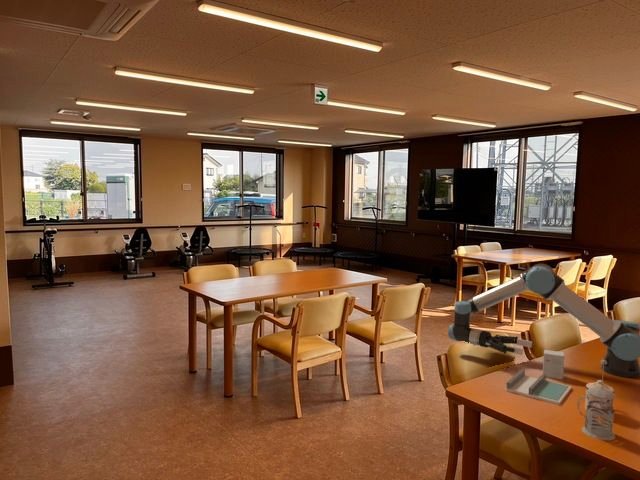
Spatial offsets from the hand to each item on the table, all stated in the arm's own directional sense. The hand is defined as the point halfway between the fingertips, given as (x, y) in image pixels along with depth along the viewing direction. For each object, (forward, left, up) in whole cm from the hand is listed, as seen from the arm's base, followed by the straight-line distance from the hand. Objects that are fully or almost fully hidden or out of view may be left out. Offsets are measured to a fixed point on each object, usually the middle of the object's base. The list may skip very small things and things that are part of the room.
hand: (527, 348), depth 217 cm
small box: (-11, 0, -10) cm, 15 cm away
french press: (-35, +45, -10) cm, 58 cm away
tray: (-10, +20, -10) cm, 24 cm away
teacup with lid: (-33, +25, -10) cm, 43 cm away
